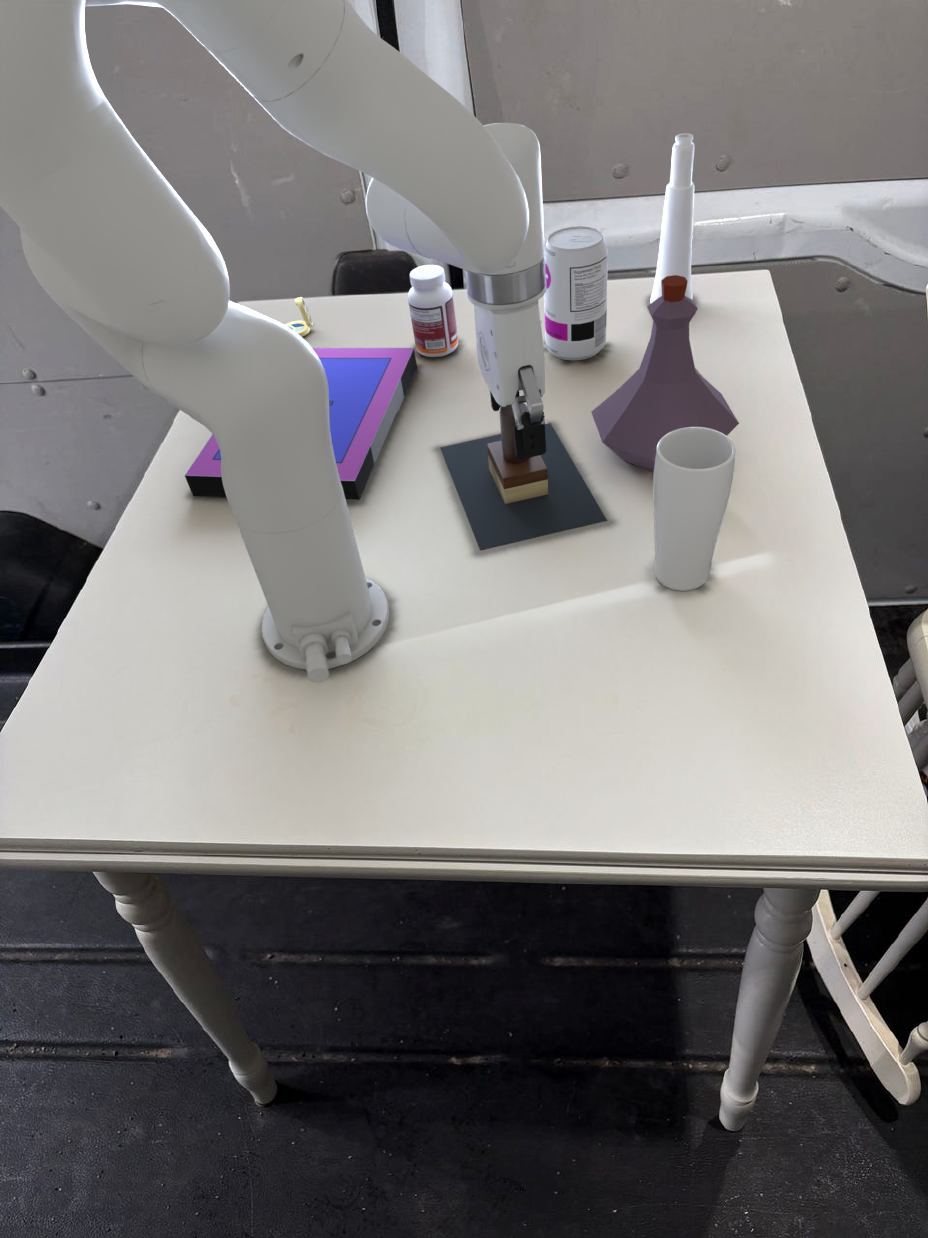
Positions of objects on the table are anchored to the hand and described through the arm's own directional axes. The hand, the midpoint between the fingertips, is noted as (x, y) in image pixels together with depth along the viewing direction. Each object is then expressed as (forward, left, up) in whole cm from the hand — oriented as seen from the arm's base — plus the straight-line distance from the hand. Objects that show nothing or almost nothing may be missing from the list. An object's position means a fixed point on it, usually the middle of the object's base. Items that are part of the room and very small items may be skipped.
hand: (518, 430), depth 91 cm
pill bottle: (+35, +2, -7) cm, 35 cm away
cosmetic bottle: (+34, -33, -7) cm, 47 cm away
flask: (0, -17, -7) cm, 18 cm away
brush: (0, 0, -7) cm, 7 cm away
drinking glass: (-20, -11, -7) cm, 24 cm away
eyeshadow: (+49, +21, -7) cm, 54 cm away
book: (+21, +22, -7) cm, 31 cm away
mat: (0, 0, -7) cm, 7 cm away
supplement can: (+27, -16, -7) cm, 32 cm away
